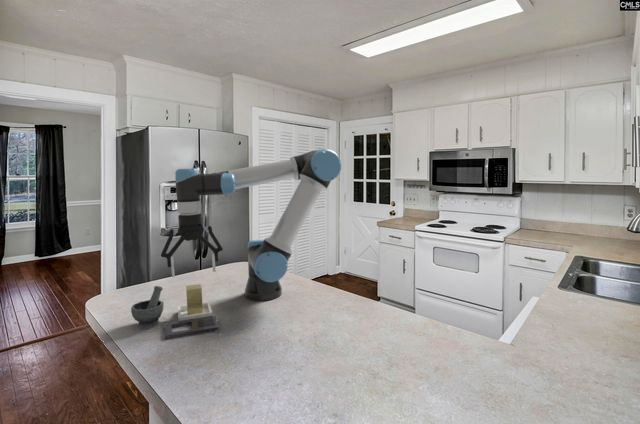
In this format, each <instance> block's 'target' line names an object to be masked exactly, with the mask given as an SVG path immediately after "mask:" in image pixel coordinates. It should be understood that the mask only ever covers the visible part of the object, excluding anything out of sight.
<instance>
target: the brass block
mask: <svg viewBox="0 0 640 424" xmlns="http://www.w3.org/2000/svg"><path fill="white" fill-rule="evenodd" d="M185 289H186V291H185V292H186V305H187V312H188V315H194V314H201V313H203V306H202V303H203V292H202V291H203V290H202V284H201V283H199V284H190V285H185Z"/></svg>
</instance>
